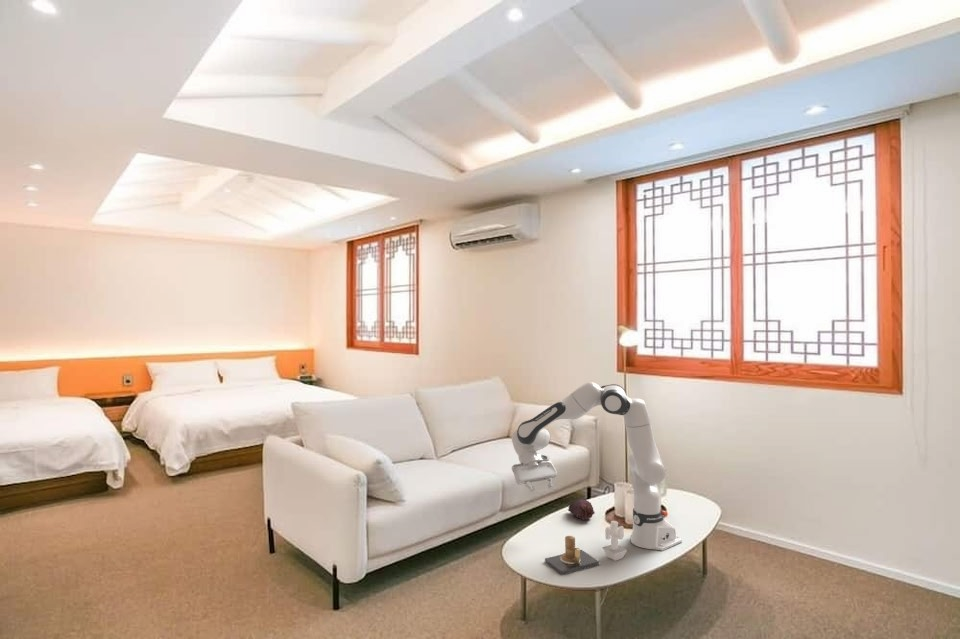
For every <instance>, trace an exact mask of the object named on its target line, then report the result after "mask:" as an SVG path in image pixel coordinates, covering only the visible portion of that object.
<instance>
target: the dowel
mask: <svg viewBox="0 0 960 639" xmlns="http://www.w3.org/2000/svg"><path fill="white" fill-rule="evenodd" d="M580 550H581V549H580V548H579V547H575V565H580Z"/></svg>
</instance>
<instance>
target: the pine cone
mask: <svg viewBox="0 0 960 639" xmlns="http://www.w3.org/2000/svg"><path fill="white" fill-rule="evenodd" d="M567 510H568V512H569V513H570V514H572V515H573V516H575V518H578V519H580V520H582V521H585V520H589V519H592V517H593V516H594V515H595V514H596V512H595V511H594V507H593V505H592V503H591V502H590V500H587V499H584V498H581V499H577V500H576V501H574V502H572V503H570V504H569V506H568V509H567ZM588 518H589V519H588Z"/></svg>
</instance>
